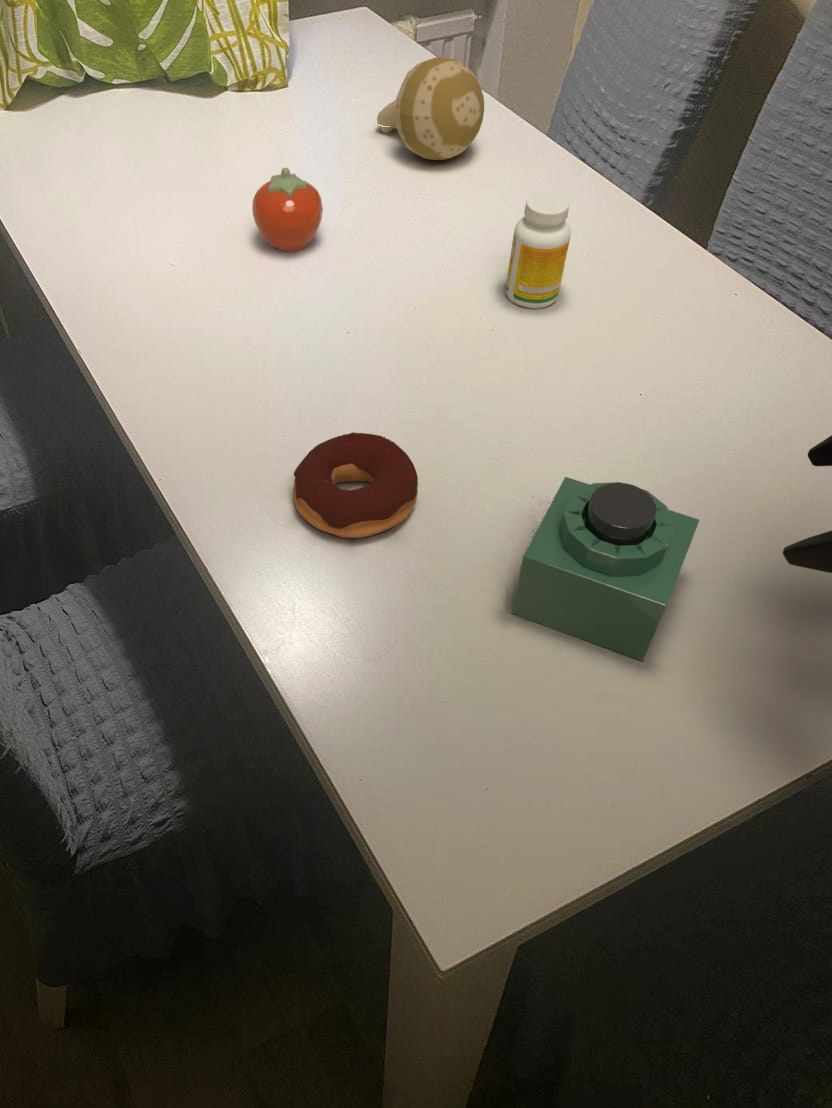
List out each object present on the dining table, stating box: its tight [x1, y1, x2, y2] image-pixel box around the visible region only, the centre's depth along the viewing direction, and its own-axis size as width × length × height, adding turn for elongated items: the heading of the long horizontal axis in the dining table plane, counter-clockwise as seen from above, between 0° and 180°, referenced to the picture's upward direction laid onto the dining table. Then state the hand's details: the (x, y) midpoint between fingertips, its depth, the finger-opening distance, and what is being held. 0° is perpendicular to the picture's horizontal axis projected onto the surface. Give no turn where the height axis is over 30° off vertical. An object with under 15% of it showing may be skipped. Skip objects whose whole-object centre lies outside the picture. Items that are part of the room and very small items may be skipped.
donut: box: [292, 431, 419, 539], centre depth 74 cm, size 10×10×4 cm
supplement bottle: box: [505, 191, 572, 309], centre depth 90 cm, size 5×5×10 cm
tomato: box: [251, 167, 324, 253], centre depth 97 cm, size 7×7×8 cm
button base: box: [510, 476, 700, 662], centre depth 67 cm, size 10×9×8 cm
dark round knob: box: [585, 482, 656, 546], centre depth 63 cm, size 4×4×2 cm
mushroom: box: [376, 56, 485, 161], centre depth 110 cm, size 10×11×15 cm
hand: (798, 505), depth 56 cm, fingers open, 9 cm apart
